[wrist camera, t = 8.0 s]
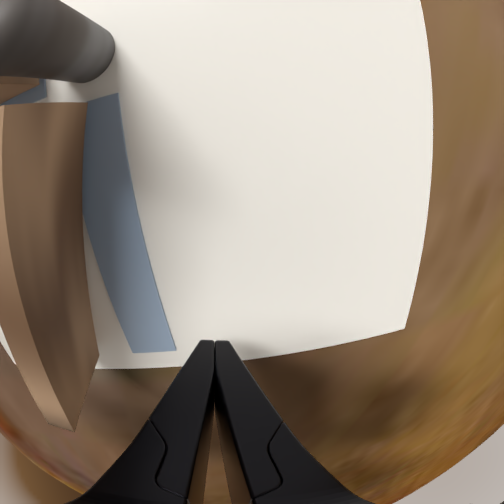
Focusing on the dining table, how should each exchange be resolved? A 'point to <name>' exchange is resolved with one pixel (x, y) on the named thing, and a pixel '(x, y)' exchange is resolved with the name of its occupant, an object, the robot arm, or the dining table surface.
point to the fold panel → (46, 255)
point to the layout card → (251, 174)
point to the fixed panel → (49, 45)
